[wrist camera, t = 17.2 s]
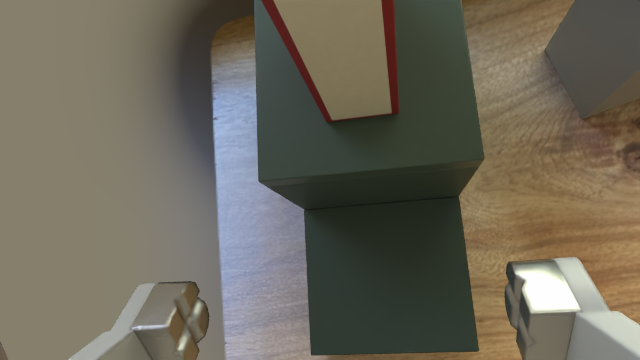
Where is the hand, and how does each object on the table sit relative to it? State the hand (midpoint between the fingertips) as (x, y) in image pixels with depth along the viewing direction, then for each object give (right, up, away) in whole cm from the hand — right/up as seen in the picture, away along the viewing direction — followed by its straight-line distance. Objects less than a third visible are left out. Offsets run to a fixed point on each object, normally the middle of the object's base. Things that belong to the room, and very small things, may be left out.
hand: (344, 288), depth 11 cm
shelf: (+4, +2, +25) cm, 26 cm away
